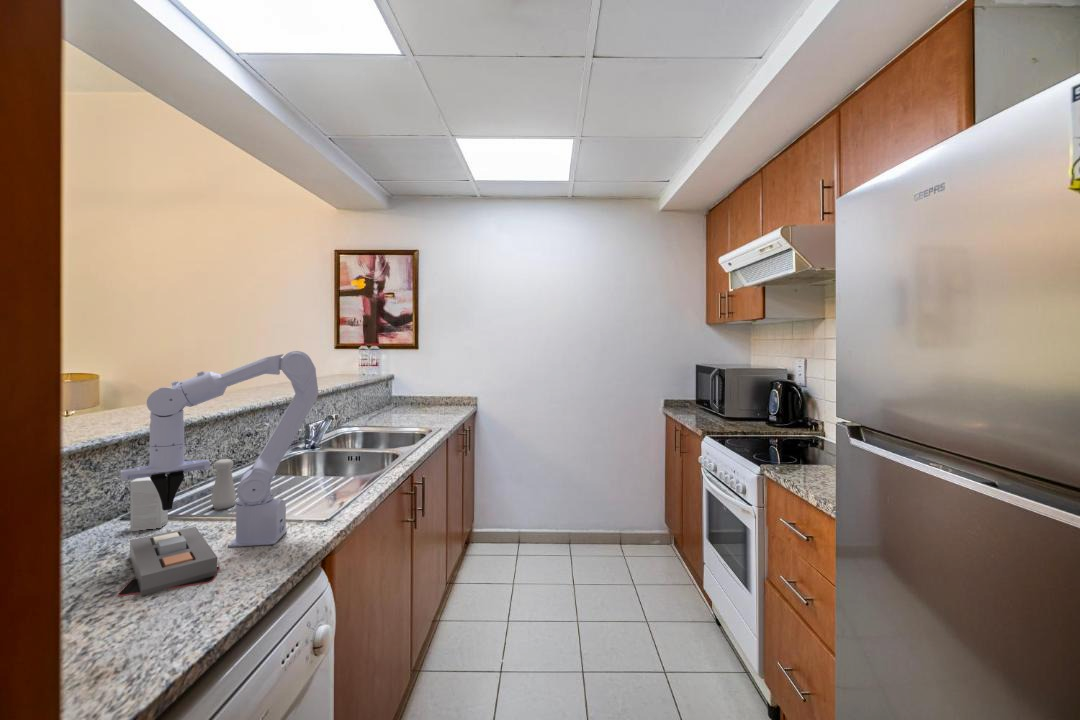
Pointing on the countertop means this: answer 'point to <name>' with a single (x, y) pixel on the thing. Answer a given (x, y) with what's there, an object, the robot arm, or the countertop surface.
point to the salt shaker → (223, 485)
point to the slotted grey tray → (160, 578)
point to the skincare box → (146, 506)
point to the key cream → (164, 537)
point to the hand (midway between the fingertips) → (167, 508)
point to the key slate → (171, 545)
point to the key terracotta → (176, 559)
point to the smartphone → (134, 589)
